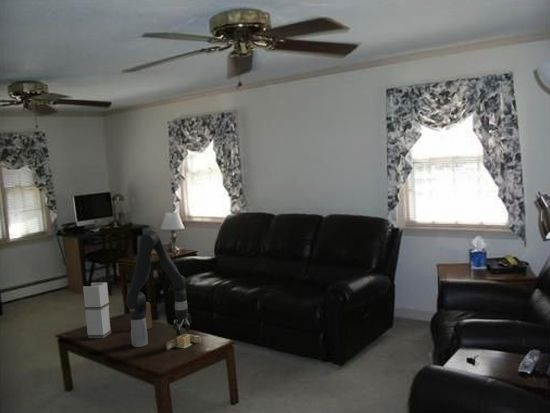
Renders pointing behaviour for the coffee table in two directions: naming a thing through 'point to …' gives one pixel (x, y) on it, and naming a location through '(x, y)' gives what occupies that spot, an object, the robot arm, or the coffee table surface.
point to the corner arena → (174, 343)
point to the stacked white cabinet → (97, 310)
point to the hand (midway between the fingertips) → (183, 333)
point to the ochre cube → (183, 340)
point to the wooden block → (148, 316)
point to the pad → (183, 347)
